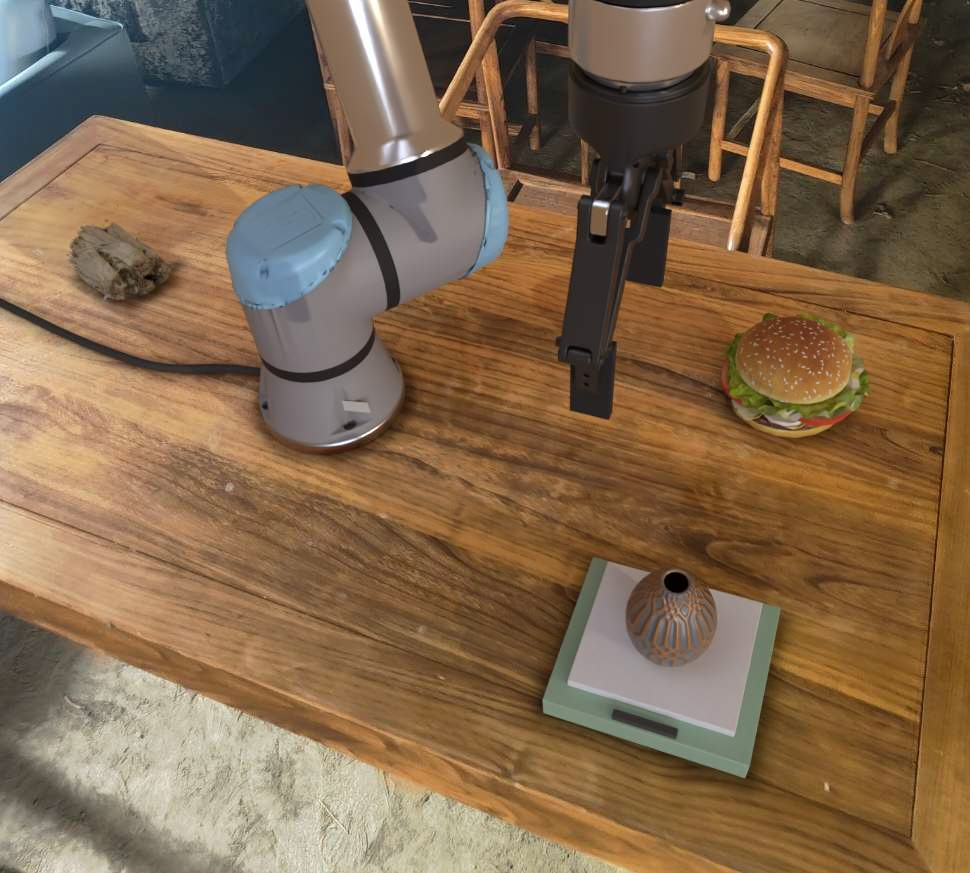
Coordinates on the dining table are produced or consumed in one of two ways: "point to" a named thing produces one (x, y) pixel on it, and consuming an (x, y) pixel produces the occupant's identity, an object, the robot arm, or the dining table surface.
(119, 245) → the grey-brown fibrous clump
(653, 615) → the vase
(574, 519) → the dining table surface
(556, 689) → the scale
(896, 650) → the dining table surface
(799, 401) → the food
